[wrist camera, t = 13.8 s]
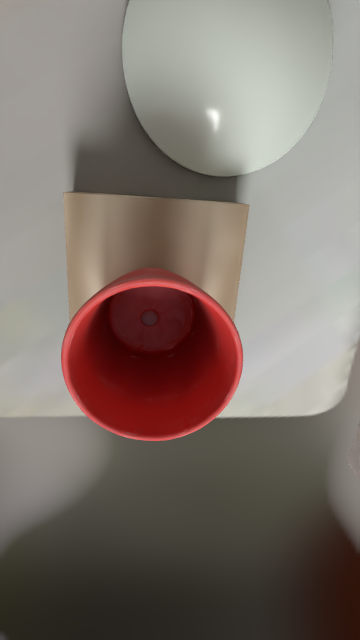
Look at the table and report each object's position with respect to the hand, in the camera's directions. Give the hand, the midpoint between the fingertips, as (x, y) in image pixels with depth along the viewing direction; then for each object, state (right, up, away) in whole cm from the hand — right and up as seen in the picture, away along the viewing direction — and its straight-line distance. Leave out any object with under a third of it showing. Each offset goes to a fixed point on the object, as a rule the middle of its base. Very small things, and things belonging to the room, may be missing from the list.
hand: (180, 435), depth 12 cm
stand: (-2, +8, +20) cm, 22 cm away
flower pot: (-3, +5, +17) cm, 18 cm away
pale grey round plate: (+4, +24, +15) cm, 28 cm away
